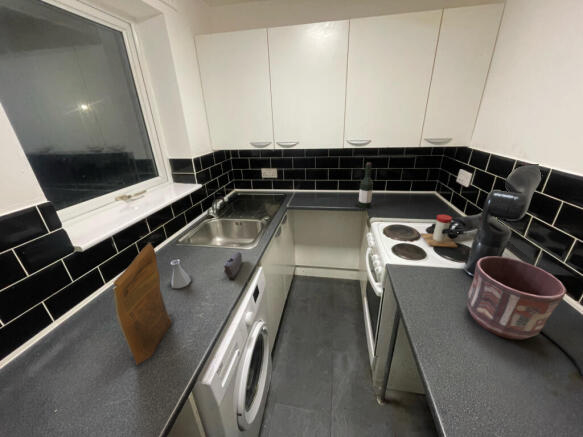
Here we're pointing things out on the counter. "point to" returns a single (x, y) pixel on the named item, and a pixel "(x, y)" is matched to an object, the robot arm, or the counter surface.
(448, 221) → the jam lid
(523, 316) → the pottery
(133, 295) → the pancake mix bag
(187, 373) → the counter surface
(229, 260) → the perforated stone tool
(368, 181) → the wine bottle
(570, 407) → the counter surface
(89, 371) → the counter surface
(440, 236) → the jam jar
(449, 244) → the wooden trivet
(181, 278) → the flask
